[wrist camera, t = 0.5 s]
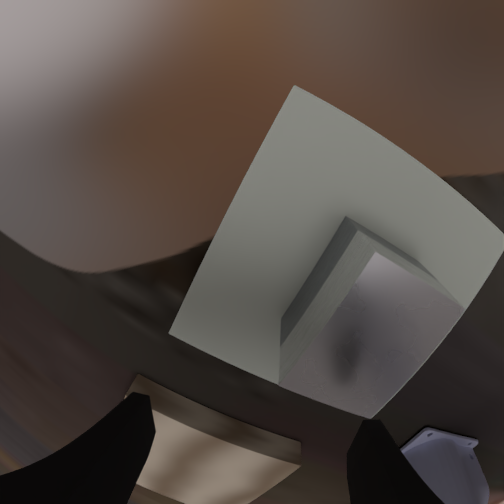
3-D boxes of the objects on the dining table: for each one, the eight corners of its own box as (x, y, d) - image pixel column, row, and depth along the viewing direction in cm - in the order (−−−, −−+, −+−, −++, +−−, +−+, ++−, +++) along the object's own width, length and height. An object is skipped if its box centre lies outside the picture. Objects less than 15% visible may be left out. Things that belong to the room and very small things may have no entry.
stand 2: (487, 227, 16) (509, 239, 13) (364, 393, 20) (371, 418, 18) (292, 94, 15) (294, 85, 12) (181, 311, 19) (168, 333, 17)
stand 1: (300, 442, 22) (301, 465, 20) (229, 498, 27) (226, 516, 25) (138, 373, 21) (125, 395, 19) (109, 449, 26) (101, 466, 24)
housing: (418, 261, 14) (465, 309, 9) (352, 351, 16) (369, 418, 11) (345, 215, 14) (375, 251, 9) (280, 318, 16) (278, 385, 11)
